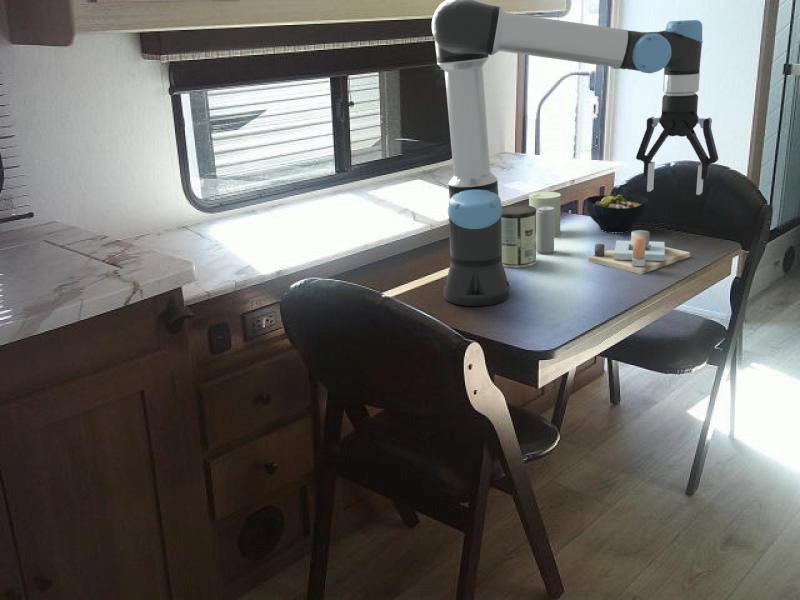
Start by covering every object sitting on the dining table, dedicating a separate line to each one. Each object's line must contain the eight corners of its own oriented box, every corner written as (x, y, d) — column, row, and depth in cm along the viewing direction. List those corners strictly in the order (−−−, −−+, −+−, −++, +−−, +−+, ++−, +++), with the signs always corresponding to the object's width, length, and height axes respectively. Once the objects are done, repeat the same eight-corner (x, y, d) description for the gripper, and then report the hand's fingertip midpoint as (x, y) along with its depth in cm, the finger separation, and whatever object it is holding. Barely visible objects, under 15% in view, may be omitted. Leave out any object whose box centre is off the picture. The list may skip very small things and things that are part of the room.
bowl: (649, 236, 222) (651, 201, 219) (587, 237, 225) (588, 202, 222) (642, 222, 238) (643, 189, 235) (583, 222, 241) (584, 190, 238)
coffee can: (505, 255, 213) (505, 203, 208) (542, 259, 208) (542, 206, 203) (489, 265, 204) (488, 212, 200) (527, 270, 199) (527, 215, 195)
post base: (641, 274, 191) (642, 246, 189) (588, 261, 203) (589, 234, 201) (689, 256, 203) (691, 230, 200) (637, 245, 215) (638, 220, 212)
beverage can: (553, 249, 215) (553, 205, 211) (554, 254, 211) (555, 210, 207) (535, 249, 216) (535, 206, 212) (536, 254, 211) (536, 210, 208)
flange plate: (616, 246, 210) (617, 221, 207) (664, 247, 206) (665, 223, 204) (612, 265, 194) (613, 238, 192) (664, 267, 191) (665, 240, 189)
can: (523, 232, 234) (523, 192, 230) (551, 228, 237) (551, 188, 233) (537, 239, 226) (537, 197, 222) (566, 235, 228) (567, 194, 224)
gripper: (738, 91, 174) (730, 191, 181) (634, 92, 186) (629, 185, 193) (731, 95, 168) (723, 198, 175) (624, 95, 180) (620, 191, 187)
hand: (674, 191), depth 184 cm, fingers open, 10 cm apart
